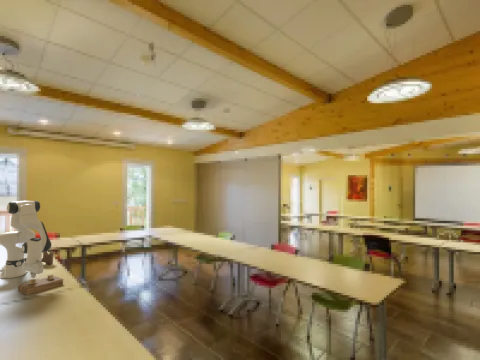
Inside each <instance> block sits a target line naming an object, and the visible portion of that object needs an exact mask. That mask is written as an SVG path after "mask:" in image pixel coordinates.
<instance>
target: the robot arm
mask: <svg viewBox="0 0 480 360" xmlns="http://www.w3.org/2000/svg"><path fill="white" fill-rule="evenodd" d="M40 209H41V203H40V201H37V200H17V201H15V200H14V201H10V202H9V203H7V205H6V211H7V213H8V214H11V218H10V219H11V220H10V227H11V228H12V229H15V230H17V231H15V230H14V231H6V232H2V233H0V246H2V247H4V249H5V251H6V253H7V257H6V260H5V265H4V266H2V268H1V269H0V279H9V278H10V279H11V278H18V277H21V276H25V274H27V273H28V272H29V274H30V278H31V279H36V277H37V275H40V274H43V273H44V262H41V260H42V258H43V253H41V252H47V253H48V252H49V251H50V250H51V248H52V241H51V240H50V238H49V235H48V233H47V229H46V227H45V224H44V223H43V221H41V220H39V218H38V215H37V214H38V212H39V211H40ZM34 230H35V231H37V232H38V234H39V237H36V233H35V232H34ZM17 244H22V245H21V247H20V246H17ZM25 254H27V255H26V257H25Z"/></svg>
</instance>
